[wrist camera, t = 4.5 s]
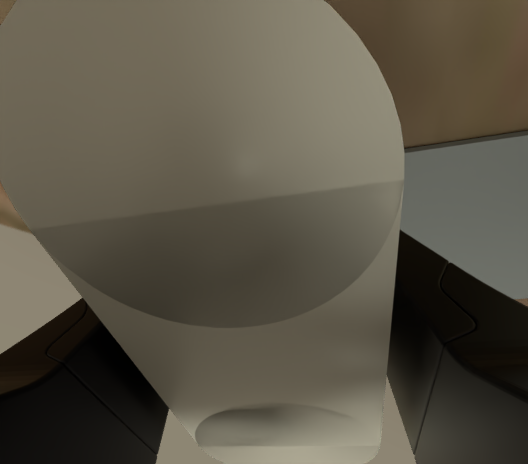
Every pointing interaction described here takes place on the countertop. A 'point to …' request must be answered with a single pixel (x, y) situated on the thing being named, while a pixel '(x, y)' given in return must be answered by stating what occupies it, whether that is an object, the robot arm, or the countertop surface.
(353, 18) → the countertop surface
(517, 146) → the mat
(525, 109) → the countertop surface
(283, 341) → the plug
